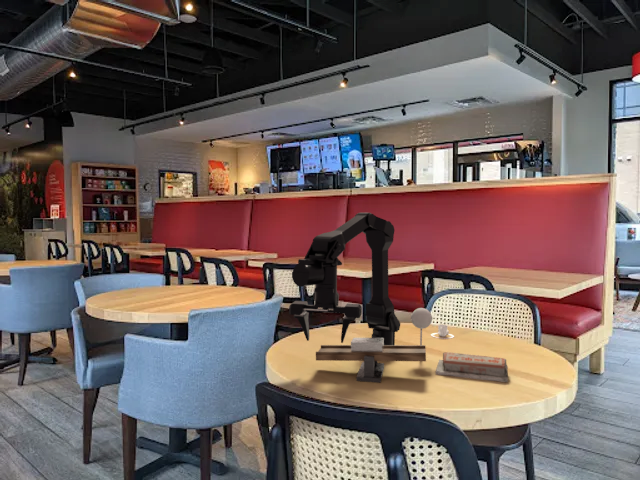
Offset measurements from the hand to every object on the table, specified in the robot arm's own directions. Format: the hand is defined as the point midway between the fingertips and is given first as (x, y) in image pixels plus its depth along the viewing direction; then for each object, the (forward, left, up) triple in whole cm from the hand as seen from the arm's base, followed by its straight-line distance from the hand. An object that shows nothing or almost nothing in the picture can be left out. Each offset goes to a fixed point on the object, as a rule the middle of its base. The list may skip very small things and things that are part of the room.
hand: (324, 341), depth 133 cm
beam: (-10, +8, -3) cm, 13 cm away
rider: (-9, +7, -2) cm, 12 cm away
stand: (-10, +8, -8) cm, 15 cm away
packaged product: (-34, +19, -9) cm, 40 cm away
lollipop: (-30, +4, -8) cm, 31 cm away
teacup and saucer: (-58, -14, -9) cm, 60 cm away
